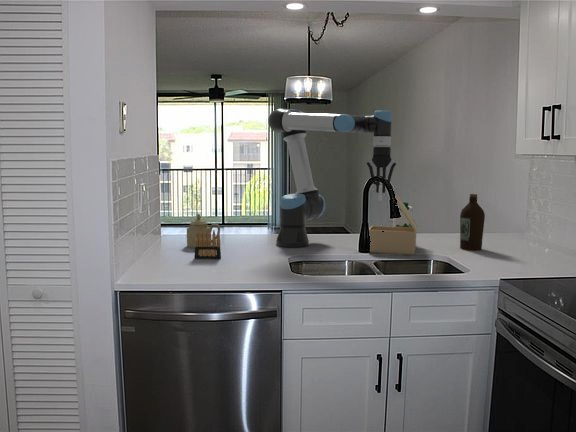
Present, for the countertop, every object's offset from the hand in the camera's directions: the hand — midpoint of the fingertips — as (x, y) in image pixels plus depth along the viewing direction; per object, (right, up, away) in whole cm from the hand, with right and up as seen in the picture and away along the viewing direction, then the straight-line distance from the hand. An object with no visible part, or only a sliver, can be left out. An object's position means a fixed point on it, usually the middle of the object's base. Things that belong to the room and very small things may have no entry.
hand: (380, 200), depth 252 cm
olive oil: (+43, -22, +9) cm, 49 cm away
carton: (+5, -23, +1) cm, 23 cm away
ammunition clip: (-74, -25, -18) cm, 80 cm away
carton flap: (+10, -4, -2) cm, 11 cm away
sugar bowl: (-80, -21, +9) cm, 83 cm away
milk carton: (+13, -21, +19) cm, 31 cm away
